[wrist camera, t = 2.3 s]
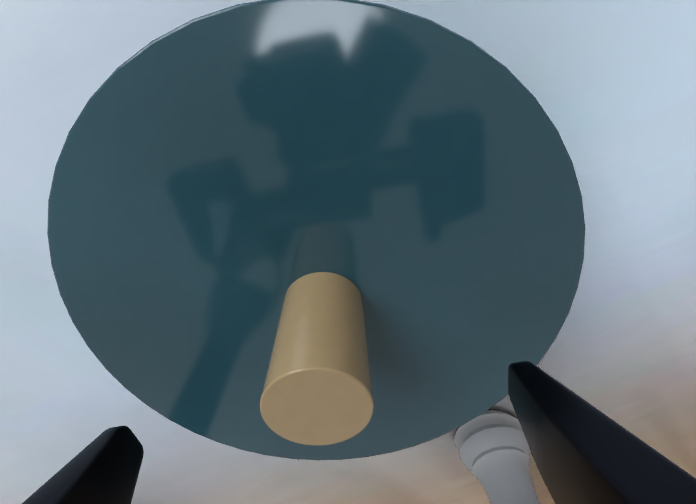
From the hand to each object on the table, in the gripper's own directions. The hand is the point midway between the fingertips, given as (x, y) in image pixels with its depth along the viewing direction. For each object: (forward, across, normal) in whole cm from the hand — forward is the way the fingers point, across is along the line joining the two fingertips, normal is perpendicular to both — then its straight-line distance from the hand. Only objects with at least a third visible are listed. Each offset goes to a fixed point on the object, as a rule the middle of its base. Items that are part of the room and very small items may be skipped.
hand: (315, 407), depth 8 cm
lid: (+4, 0, 0) cm, 5 cm away
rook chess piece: (+10, -7, +16) cm, 20 cm away
